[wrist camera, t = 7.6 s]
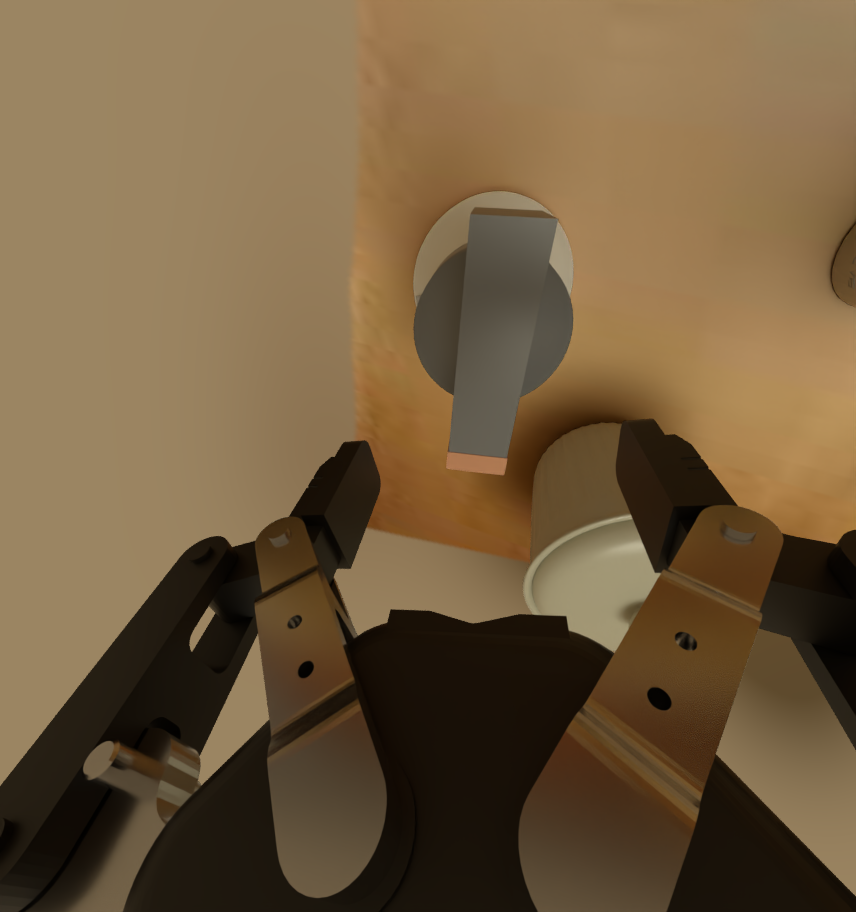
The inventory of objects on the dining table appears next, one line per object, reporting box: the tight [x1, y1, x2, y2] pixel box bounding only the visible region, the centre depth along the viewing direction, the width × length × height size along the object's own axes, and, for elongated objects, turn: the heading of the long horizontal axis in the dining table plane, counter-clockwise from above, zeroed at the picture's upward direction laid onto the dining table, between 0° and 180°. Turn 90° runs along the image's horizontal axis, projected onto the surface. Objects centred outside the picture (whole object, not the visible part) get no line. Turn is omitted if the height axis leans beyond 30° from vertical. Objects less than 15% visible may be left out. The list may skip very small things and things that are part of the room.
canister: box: [523, 422, 661, 651], centre depth 33 cm, size 18×18×21 cm
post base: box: [413, 191, 574, 307], centre depth 28 cm, size 13×13×9 cm
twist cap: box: [414, 207, 573, 475], centre depth 20 cm, size 12×9×9 cm
